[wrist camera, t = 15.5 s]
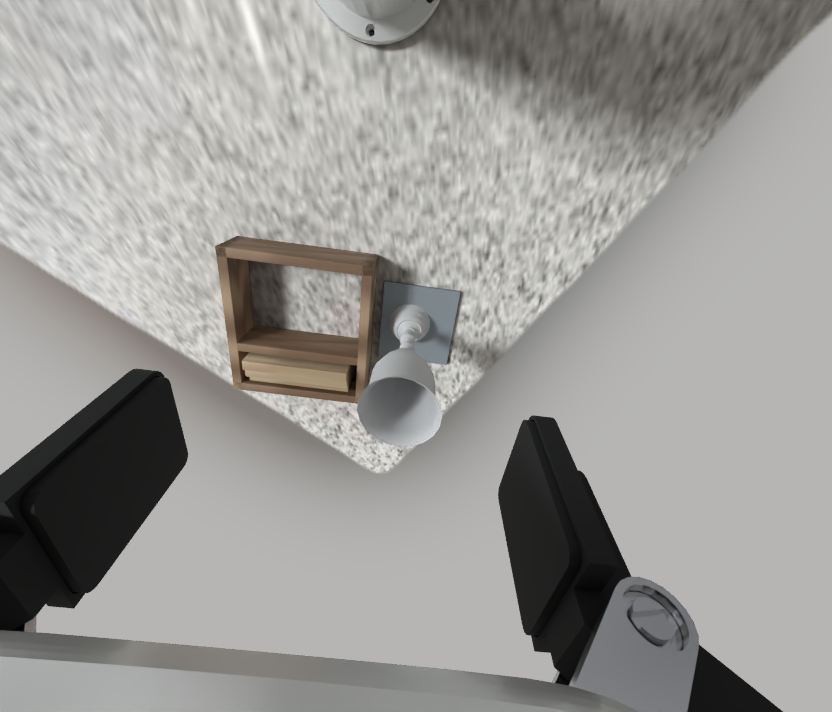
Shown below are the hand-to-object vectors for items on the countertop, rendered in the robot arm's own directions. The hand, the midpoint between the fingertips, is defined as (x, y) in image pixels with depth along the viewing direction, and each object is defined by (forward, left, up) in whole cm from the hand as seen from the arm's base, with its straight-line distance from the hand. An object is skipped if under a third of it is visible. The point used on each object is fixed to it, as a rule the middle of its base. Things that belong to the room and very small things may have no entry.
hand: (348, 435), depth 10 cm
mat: (+12, +2, -35) cm, 38 cm away
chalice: (+12, +1, -35) cm, 37 cm away
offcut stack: (+19, -11, -36) cm, 42 cm away
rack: (+13, -11, -35) cm, 39 cm away
